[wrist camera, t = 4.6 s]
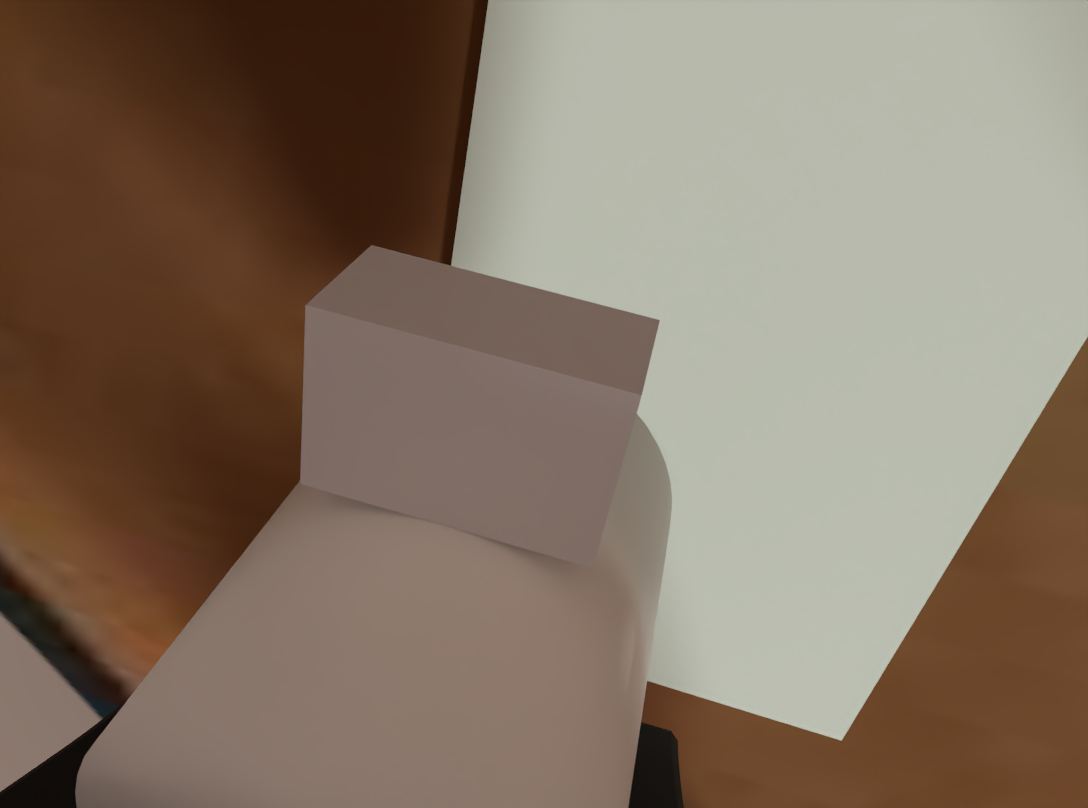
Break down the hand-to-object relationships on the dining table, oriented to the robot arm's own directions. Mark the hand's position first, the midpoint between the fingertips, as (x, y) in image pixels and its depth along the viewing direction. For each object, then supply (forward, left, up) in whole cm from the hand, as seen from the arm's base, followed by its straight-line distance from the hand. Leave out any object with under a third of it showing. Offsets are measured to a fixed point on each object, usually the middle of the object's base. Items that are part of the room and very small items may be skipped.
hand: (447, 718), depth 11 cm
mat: (+1, -3, -8) cm, 9 cm away
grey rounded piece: (0, 0, -1) cm, 1 cm away
